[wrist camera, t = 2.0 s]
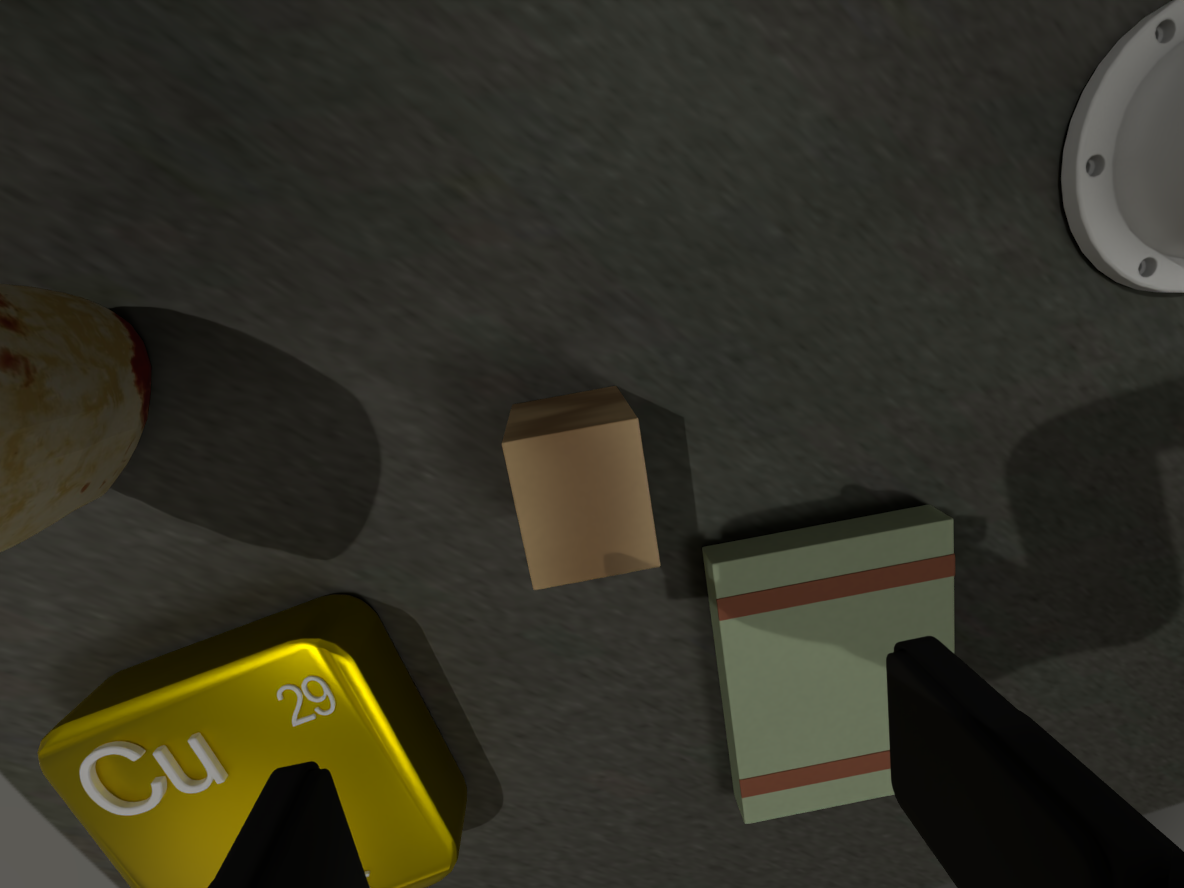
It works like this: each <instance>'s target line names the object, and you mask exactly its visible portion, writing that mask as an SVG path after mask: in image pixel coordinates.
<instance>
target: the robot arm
mask: <svg viewBox="0 0 1184 888" xmlns="http://www.w3.org/2000/svg"><path fill="white" fill-rule="evenodd" d="M1061 186H1062V197H1063V207H1064V210H1065V214H1066V217H1067V220H1068V224H1069V227H1070V231H1071V233H1072V234H1073V236H1074V238H1075V240H1076V242H1077V244H1078V245H1079V247H1080V249H1081V251H1082V253H1083V254H1084V255H1085V256H1086V257H1087V258H1088V259H1089V260H1090V262H1091V263H1092V264H1093V265H1094V266H1095V267H1096V268H1097V269H1098V270H1099V271H1101V272H1102V273H1104V274H1105V275H1106V276H1108V277H1109V278H1111V279H1112V280H1114V281H1115V282H1117V283H1120V284H1123V285H1125V286H1128V287H1131V288H1133V289H1136V290H1143V291H1150V292H1158V293H1184V0H1173V1H1170V2H1169V3H1167V4H1165V5H1164V6H1162V7H1161V8H1159V9H1157V10H1156V11H1154V12H1152V13H1151V14H1149V15H1148V16H1146V17H1144V18H1143V19H1142V20H1141V21H1140V22H1139V23H1137V24H1136V25H1135V26H1134V27H1133V28H1132V29H1131V30H1129V31H1128V32H1127V33H1126V34H1125V35H1124V36H1123V37H1122V38H1120V39H1119V41H1118V42H1117V43H1116V44H1115V45H1114V47H1113V48H1112V49H1111V50H1110V51H1109V53H1108V54H1107V55H1106V56H1105V58H1104V59H1103V60H1102V61H1101V62H1100V64H1099V65H1098V67H1097V68H1096V70H1095V72H1094V73H1093V75H1092V77H1091V78H1090V80H1089V82H1088V83H1087V85H1086V87H1085V88H1084V90H1083V92H1082V94H1081V97H1080V99H1079V101H1078V104H1077V106H1076V109H1075V111H1074V113H1073V116H1072V118H1071V121H1070V125H1069V129H1068V133H1067V137H1066V141H1065V145H1064V149H1063V159H1062V171H1061ZM886 672H887V695H888V719H889V742H890V766H891V783H892V788H893V791H894V794H895V796H896V799H897V801H898V803H899V804H900V806H901V808H902V809H903V811H904V812H905V813H906V815H907V816H908V818H909V819H910V821H911V822H912V823H913V825H914V826H915V828H916V829H917V831H918V832H919V833H920V835H921V836H922V838H923V839H924V841H925V842H926V843H927V845H928V846H929V848H930V849H931V851H932V852H933V853H934V855H935V856H936V858H937V859H938V861H939V862H940V863H941V865H942V866H943V868H944V869H945V871H946V872H947V873H948V875H949V876H950V878H951V879H952V881H953V882H954V883H955V885H956V886H957V887H958V888H1184V852H1183V851H1182V850H1181V849H1180V848H1179V847H1178V846H1176V845H1175V844H1174V843H1173V842H1172V841H1171V840H1170V839H1168V838H1167V837H1166V836H1165V835H1164V834H1163V833H1162V832H1160V831H1159V830H1158V829H1157V828H1156V827H1155V826H1153V825H1152V824H1151V823H1150V822H1149V821H1148V820H1147V819H1146V818H1144V817H1143V816H1142V815H1141V814H1140V813H1139V812H1138V811H1136V810H1135V809H1134V808H1133V807H1132V806H1131V805H1130V804H1128V803H1127V802H1126V801H1125V800H1124V799H1123V798H1122V797H1120V796H1119V795H1118V794H1117V793H1116V792H1115V791H1114V790H1112V789H1111V788H1110V787H1109V786H1108V785H1107V784H1106V783H1104V782H1103V781H1102V780H1101V779H1100V778H1099V777H1098V776H1096V775H1095V774H1094V773H1093V772H1092V771H1091V770H1090V769H1088V768H1087V767H1086V766H1085V765H1084V764H1083V763H1081V762H1080V761H1079V760H1078V759H1077V758H1076V757H1075V756H1073V755H1072V754H1071V753H1070V752H1069V751H1068V750H1067V749H1065V748H1064V747H1063V746H1062V745H1061V744H1060V743H1059V742H1057V741H1056V740H1055V739H1054V738H1053V737H1052V736H1051V735H1049V734H1048V733H1047V732H1046V731H1045V730H1044V729H1043V728H1041V727H1040V726H1039V725H1038V724H1037V723H1036V722H1035V721H1033V720H1032V719H1031V718H1030V717H1028V716H1027V715H1026V714H1024V713H1023V712H1021V711H1019V710H1018V709H1016V708H1015V707H1014V706H1013V705H1012V704H1011V703H1010V702H1008V701H1007V700H1006V699H1005V698H1004V697H1003V696H1002V695H1000V694H999V693H998V692H997V691H996V690H995V689H994V688H993V687H991V686H990V685H989V684H988V683H987V682H986V681H985V680H983V679H982V678H981V677H980V676H979V675H978V674H977V673H975V672H974V671H973V670H972V669H971V668H970V667H969V666H968V665H966V664H965V663H964V662H963V661H962V660H961V659H960V658H958V657H957V656H956V655H955V654H954V653H953V652H952V651H950V650H949V649H948V648H947V647H946V646H945V645H944V644H943V643H941V642H940V641H939V640H938V639H936V638H935V637H933V636H925V637H920V638H915V639H910V640H905V641H901V642H898V643H896V644H895V646H894V652H893V653H889V654H888V655H887V657H886ZM208 888H370V887H369V884H368V881H367V878H366V875H365V872H364V869H363V866H362V863H361V860H360V858H359V855H358V852H357V849H356V846H355V843H354V840H353V837H352V834H351V831H350V828H349V825H348V822H347V819H346V816H345V814H344V811H343V808H342V805H341V802H340V799H339V796H338V793H337V790H336V787H335V784H334V781H333V778H332V775H331V773H330V771H329V770H328V769H325V768H324V769H320V768H319V766H318V764H317V763H316V762H314V761H310V762H305V763H300V764H295V765H290V766H285V767H280V768H277V769H275V770H274V771H273V772H272V774H271V775H270V777H269V778H268V780H267V782H266V784H265V786H264V788H263V790H262V791H261V793H260V795H259V797H258V799H257V801H256V802H255V804H254V806H253V808H252V810H251V812H250V814H249V815H248V817H247V819H246V821H245V823H244V825H243V826H242V828H241V830H240V832H239V834H238V836H237V838H236V839H235V841H234V843H233V845H232V847H231V849H230V850H229V852H228V854H227V856H226V858H225V860H224V862H223V863H222V865H221V867H220V869H219V871H218V873H217V874H216V876H215V878H214V880H213V881H212V882H211V883H210V885H209V886H208Z"/></svg>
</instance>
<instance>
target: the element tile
mask: <svg viewBox="0 0 1184 888" xmlns="http://www.w3.org/2000/svg"><path fill="white" fill-rule="evenodd" d="M38 758H39V763H40V767H41V769H42V772H43V774H44V776H45V777H46V778H47V780H48V781H49V782H50V783H51V785H52V786H53V787H54V789H55V790H56V791H57V793H58V794H59V795H60V796H61V798H62V799H63V800H64V802H65V803H66V804H67V806H68V807H69V808H70V809H71V811H72V812H73V813H74V815H75V816H76V817H77V818H78V820H79V821H80V822H81V824H82V825H83V826H84V828H85V829H86V830H87V831H88V833H89V834H90V835H91V837H92V838H93V839H94V840H95V842H96V843H97V844H98V846H99V847H100V848H101V850H102V851H103V852H104V853H105V855H106V856H107V857H108V859H109V860H110V861H111V863H112V864H113V865H114V866H115V868H116V869H117V870H118V872H119V873H120V874H121V875H122V877H123V878H124V879H125V881H126V882H127V883H128V885H129V886H130V887H131V888H208V886H209V885H210V883H211V882H212V881H213V880H214V878H215V876H216V874H217V873H218V871H219V869H220V867H221V865H222V863H223V862H224V860H225V858H226V856H227V854H228V852H229V850H230V849H231V847H232V845H233V843H234V841H235V839H236V838H237V836H238V834H239V832H240V830H241V828H242V826H243V825H244V823H245V821H246V819H247V817H248V815H249V814H250V812H251V810H252V808H253V806H254V804H255V802H256V801H257V799H258V797H259V795H260V793H261V791H262V790H263V788H264V786H265V784H266V782H267V780H268V778H269V777H270V775H271V774H272V772H273V771H274V770H275V769H277V768H280V767H285V766H290V765H295V764H300V763H305V762H310V761H314V762H316V763H317V764H318V766H319V768H320V769H324V768H325V769H328V770H329V771H330V773H331V775H332V778H333V781H334V784H335V787H336V790H337V793H338V796H339V799H340V802H341V805H342V808H343V811H344V814H345V816H346V819H347V822H348V825H349V828H350V831H351V834H352V837H353V840H354V843H355V846H356V849H357V852H358V855H359V858H360V860H361V863H362V866H363V869H364V872H365V875H366V878H367V881H368V884H369V887H370V888H425V887H428V886H431V885H433V884H435V883H437V882H438V881H440V880H442V879H443V878H444V877H445V876H447V875H448V874H449V873H450V872H451V871H452V869H453V867H454V865H455V863H456V861H457V859H458V855H459V848H460V841H461V835H462V828H463V822H464V815H465V809H466V802H467V787H466V784H465V780H464V778H463V776H462V774H461V772H460V770H459V768H458V766H457V764H456V762H455V760H454V758H453V757H452V755H451V753H450V751H449V749H448V747H447V745H446V743H445V741H444V740H443V738H442V736H441V734H440V732H439V730H438V728H437V726H436V724H435V722H434V721H433V719H432V717H431V715H430V713H429V711H428V709H427V707H426V705H425V704H424V702H423V700H422V698H421V696H420V694H419V692H418V690H417V688H416V686H415V685H414V683H413V681H412V679H411V677H410V675H409V673H408V671H407V669H406V668H405V666H404V664H403V662H402V660H401V658H400V656H399V654H398V652H397V651H396V649H395V647H394V645H393V643H392V641H391V639H390V637H389V635H388V633H387V632H386V630H385V628H384V626H383V624H382V622H381V620H380V618H379V616H378V615H377V613H376V612H375V611H374V610H373V609H372V608H371V607H370V606H369V605H367V604H366V603H365V602H364V601H362V600H361V599H359V598H356V597H353V596H350V595H336V594H333V595H328V596H323V597H319V598H317V599H314V600H311V601H308V602H306V603H303V604H300V605H298V606H295V607H292V608H289V609H287V610H284V611H281V612H279V613H276V614H273V615H270V616H268V617H265V618H262V619H260V620H257V621H254V622H252V623H249V624H246V625H243V626H241V627H238V628H235V629H233V630H230V631H227V632H224V633H222V634H219V635H216V636H214V637H211V638H208V639H205V640H203V641H200V642H197V643H195V644H192V645H189V646H187V647H184V648H181V649H178V650H176V651H173V652H170V653H168V654H165V655H162V656H159V657H157V658H154V659H151V660H149V661H146V662H143V663H140V664H138V665H135V666H132V667H130V668H127V669H124V670H122V671H120V672H118V673H116V674H114V675H112V676H110V677H109V678H108V679H107V680H105V681H104V682H103V683H102V684H101V685H100V686H99V687H98V688H97V689H95V690H94V691H93V692H92V693H91V694H90V695H89V696H88V697H87V698H86V699H84V700H83V701H82V702H81V703H80V704H79V705H78V706H77V707H76V708H75V709H73V710H72V711H71V712H70V713H69V714H68V715H67V716H66V717H65V718H64V719H62V720H61V721H60V722H59V723H58V724H57V725H56V726H55V727H54V728H53V729H52V730H51V731H50V732H49V733H48V734H47V735H46V736H45V737H44V738H43V739H42V741H41V743H40V747H39V750H38Z"/></svg>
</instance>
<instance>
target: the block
mask: <svg viewBox="0 0 1184 888" xmlns="http://www.w3.org/2000/svg"><path fill="white" fill-rule="evenodd" d="M502 448H503V452H504V457H505V462H506V466H507V471H508V475H509V480H510V485H511V489H512V494H513V498H514V503H515V508H516V512H517V517H518V521H519V526H520V531H521V535H522V540H523V544H524V549H525V554H526V558H527V563H528V568H529V572H530V577H531V581H532V586H533V589H534V590H539V589H544V588H549V587H554V586H560V585H565V584H570V583H576V582H581V581H586V580H591V579H597V578H602V577H607V576H613V575H618V574H623V573H629V572H634V571H639V570H644V569H650V568H655V567H660V565H661V564H660V558H659V551H658V545H657V538H656V532H655V525H654V518H653V512H652V505H651V499H650V492H649V486H648V479H647V472H646V466H645V459H644V453H643V446H642V440H641V433H640V426H639V420H638V418H637V416H636V415H635V413H634V412H633V410H632V409H631V407H630V406H629V404H628V403H627V401H626V400H625V398H624V397H623V395H622V394H621V392H620V391H619V389H618V388H617V386H612V387H607V388H601V389H596V390H590V391H584V392H579V393H573V394H568V395H562V396H557V397H551V398H546V399H540V400H535V401H529V402H524V403H518V404H513V405H512V407H511V411H510V415H509V418H508V422H507V426H506V430H505V433H504V437H503V441H502Z"/></svg>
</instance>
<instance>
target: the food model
mask: <svg viewBox="0 0 1184 888" xmlns="http://www.w3.org/2000/svg"><path fill="white" fill-rule="evenodd" d="M150 394H151V364H150V361H149V358H148V355H147V351H146V348H145V345H144V342H143V341H142V339H141V338H140V336H139V335H138V334H137V332H136V331H135V329H134V328H133V327H132V325H131V324H130V323H128V322H127V321H126V320H124V319H123V318H121V317H120V316H118V315H117V314H116V313H114V312H113V311H111V310H109V309H107V308H105V307H103V306H101V305H99V304H97V303H95V302H92V301H90V300H87V299H84V298H81V297H77V296H74V295H70V294H66V293H62V292H57V291H51V290H46V289H41V288H35V287H28V286H17V285H7V284H0V553H1V552H3V551H5V550H7V549H9V548H11V547H13V546H15V545H17V544H19V543H21V542H23V541H25V540H26V539H28V538H30V537H31V536H33V535H35V534H37V533H38V532H40V531H42V530H43V529H45V528H47V527H49V526H50V525H52V524H54V523H55V522H57V521H58V520H60V519H61V518H63V517H65V516H66V515H68V514H69V513H71V512H73V511H74V510H76V509H78V508H80V507H82V506H84V505H86V504H88V503H90V502H92V501H93V500H95V499H97V498H99V497H101V496H102V495H103V494H105V493H106V492H107V491H108V489H109V488H110V487H111V486H112V484H113V483H114V482H115V480H116V479H117V478H118V476H119V475H120V473H121V472H122V471H123V469H124V468H125V466H126V465H127V463H128V462H129V460H130V458H131V456H132V454H133V452H134V450H135V449H136V447H137V444H138V442H139V439H140V437H141V434H142V431H143V429H144V426H145V423H146V421H147V418H148V410H149V401H150Z"/></svg>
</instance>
